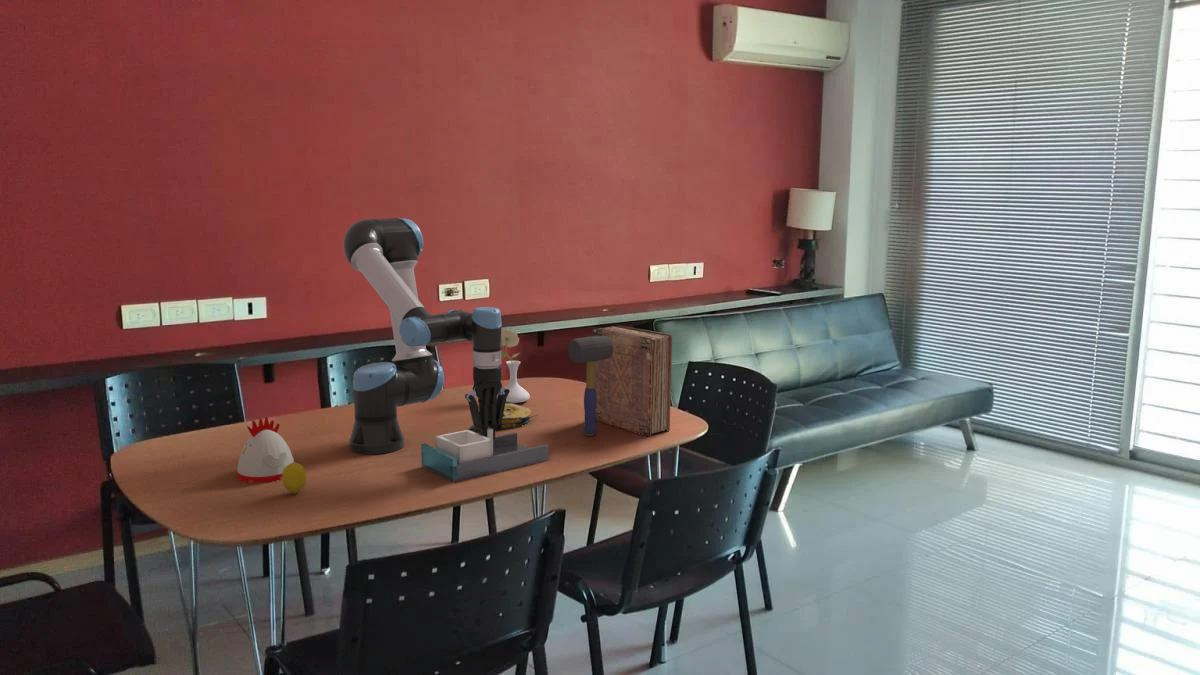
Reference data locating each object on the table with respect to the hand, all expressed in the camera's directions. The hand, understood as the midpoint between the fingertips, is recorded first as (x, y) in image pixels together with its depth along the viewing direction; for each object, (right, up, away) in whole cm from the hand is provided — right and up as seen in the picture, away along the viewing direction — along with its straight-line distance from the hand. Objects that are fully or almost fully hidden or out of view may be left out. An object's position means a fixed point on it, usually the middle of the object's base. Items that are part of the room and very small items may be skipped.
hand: (487, 451), depth 242 cm
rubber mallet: (+27, +1, +28) cm, 39 cm away
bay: (-1, -3, 0) cm, 3 cm away
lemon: (-44, -7, -25) cm, 51 cm away
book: (+40, +3, +39) cm, 55 cm away
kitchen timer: (-56, -5, -11) cm, 57 cm away
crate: (-6, -3, -5) cm, 8 cm away
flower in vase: (0, +9, +67) cm, 68 cm away
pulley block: (-2, +3, +36) cm, 36 cm away
